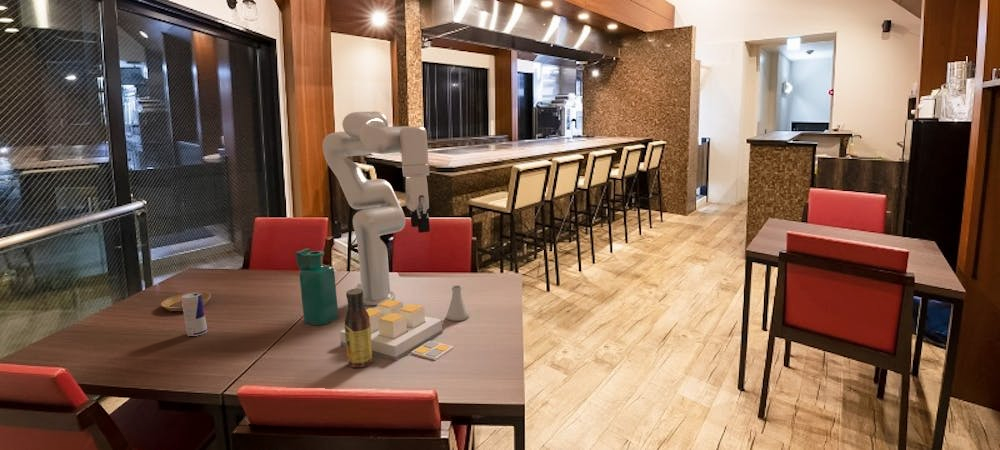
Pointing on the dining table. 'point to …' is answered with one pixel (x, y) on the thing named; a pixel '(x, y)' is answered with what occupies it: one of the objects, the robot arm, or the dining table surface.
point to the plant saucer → (178, 298)
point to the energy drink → (194, 314)
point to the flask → (457, 306)
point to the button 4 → (413, 315)
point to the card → (432, 350)
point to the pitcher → (317, 288)
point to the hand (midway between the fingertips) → (420, 229)
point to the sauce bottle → (357, 330)
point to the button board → (403, 339)
